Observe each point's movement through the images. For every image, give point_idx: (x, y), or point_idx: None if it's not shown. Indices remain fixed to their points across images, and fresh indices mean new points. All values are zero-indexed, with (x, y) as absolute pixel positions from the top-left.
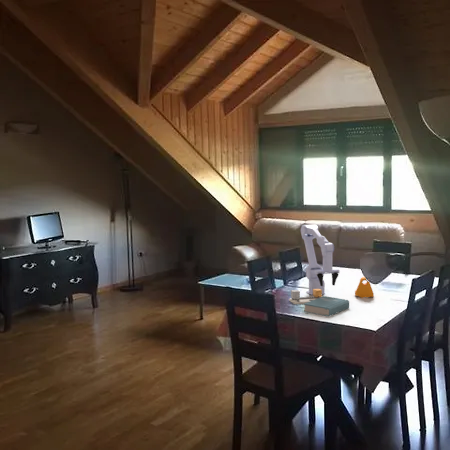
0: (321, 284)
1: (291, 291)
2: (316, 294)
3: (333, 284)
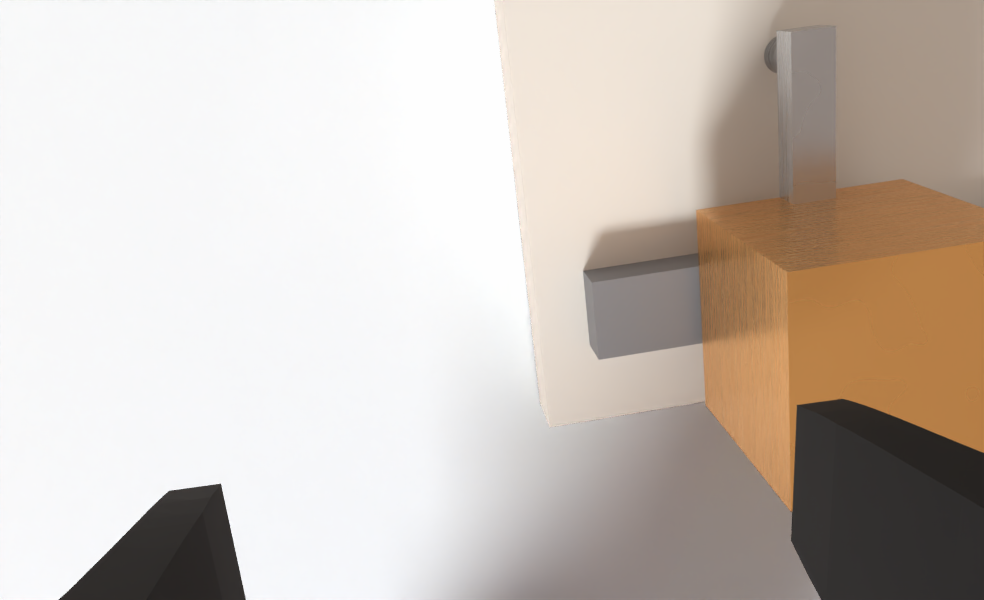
0: (901, 429)
1: None
2: (916, 203)
3: (216, 527)
